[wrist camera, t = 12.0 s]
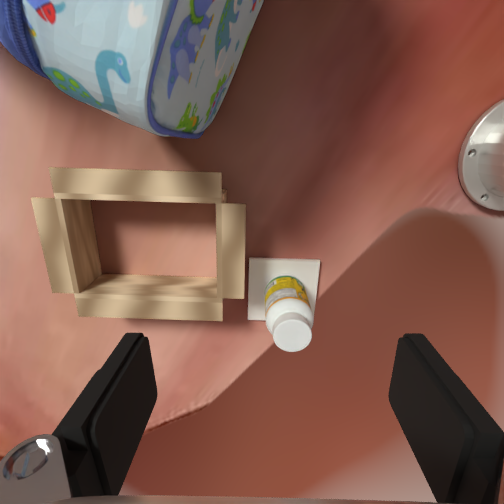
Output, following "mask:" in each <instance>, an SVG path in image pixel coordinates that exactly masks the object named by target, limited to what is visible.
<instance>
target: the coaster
mask: <svg viewBox="0 0 504 504" xmlns="http://www.w3.org/2000/svg"><path fill="white" fill-rule="evenodd" d="M319 268H320V260H319V259H287V258H255V257H249V288H248V320H266V317H265V297H264V291H265V287H266V285H267V283H268V282H269V281H270V280H271V279H272V278H274V277H275V276H278V275H282V274H289V275H293V276H295V277H296V278H298V279H299V280H300V281H301V282H302V283H303V285H304V287H305V290H306V293H307V297H308V300H309V303H310V306H311V309H312V312H313V317H314V311H315V303H316V294H317V285H318V276H319Z"/></svg>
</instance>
